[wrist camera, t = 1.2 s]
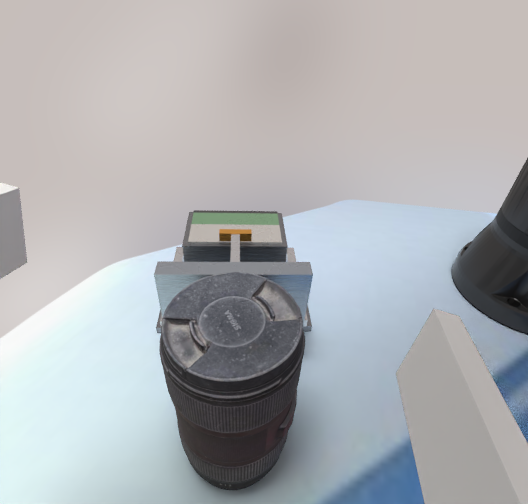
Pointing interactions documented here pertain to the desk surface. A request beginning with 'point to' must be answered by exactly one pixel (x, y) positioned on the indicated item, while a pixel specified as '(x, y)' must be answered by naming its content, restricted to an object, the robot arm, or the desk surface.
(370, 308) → the desk surface
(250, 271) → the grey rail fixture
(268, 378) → the camera lens
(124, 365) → the desk surface
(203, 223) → the grey box on baseplate
